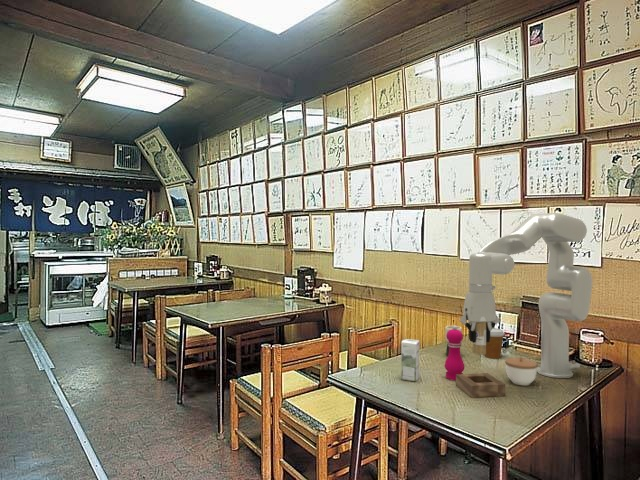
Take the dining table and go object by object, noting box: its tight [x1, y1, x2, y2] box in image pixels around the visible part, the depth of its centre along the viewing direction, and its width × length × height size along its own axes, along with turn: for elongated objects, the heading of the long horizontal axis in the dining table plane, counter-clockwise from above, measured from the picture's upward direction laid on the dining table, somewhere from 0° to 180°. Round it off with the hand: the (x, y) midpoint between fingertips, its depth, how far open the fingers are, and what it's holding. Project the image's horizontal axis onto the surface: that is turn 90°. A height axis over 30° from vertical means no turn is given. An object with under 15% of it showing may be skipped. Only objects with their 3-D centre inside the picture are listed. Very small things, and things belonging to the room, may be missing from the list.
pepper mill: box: [444, 324, 465, 381], centre depth 166 cm, size 7×7×20 cm
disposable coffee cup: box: [484, 327, 505, 360], centre depth 195 cm, size 10×10×12 cm
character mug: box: [444, 325, 463, 356], centre depth 196 cm, size 11×7×13 cm, turn 140°
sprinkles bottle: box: [472, 317, 486, 356], centre depth 152 cm, size 5×5×14 cm
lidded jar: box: [504, 356, 538, 386], centre depth 161 cm, size 11×11×9 cm
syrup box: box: [400, 338, 420, 382], centre depth 165 cm, size 6×6×14 cm
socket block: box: [455, 372, 506, 399], centre depth 153 cm, size 12×12×4 cm
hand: (479, 341), depth 152 cm, fingers closed on sprinkles bottle, 4 cm apart
